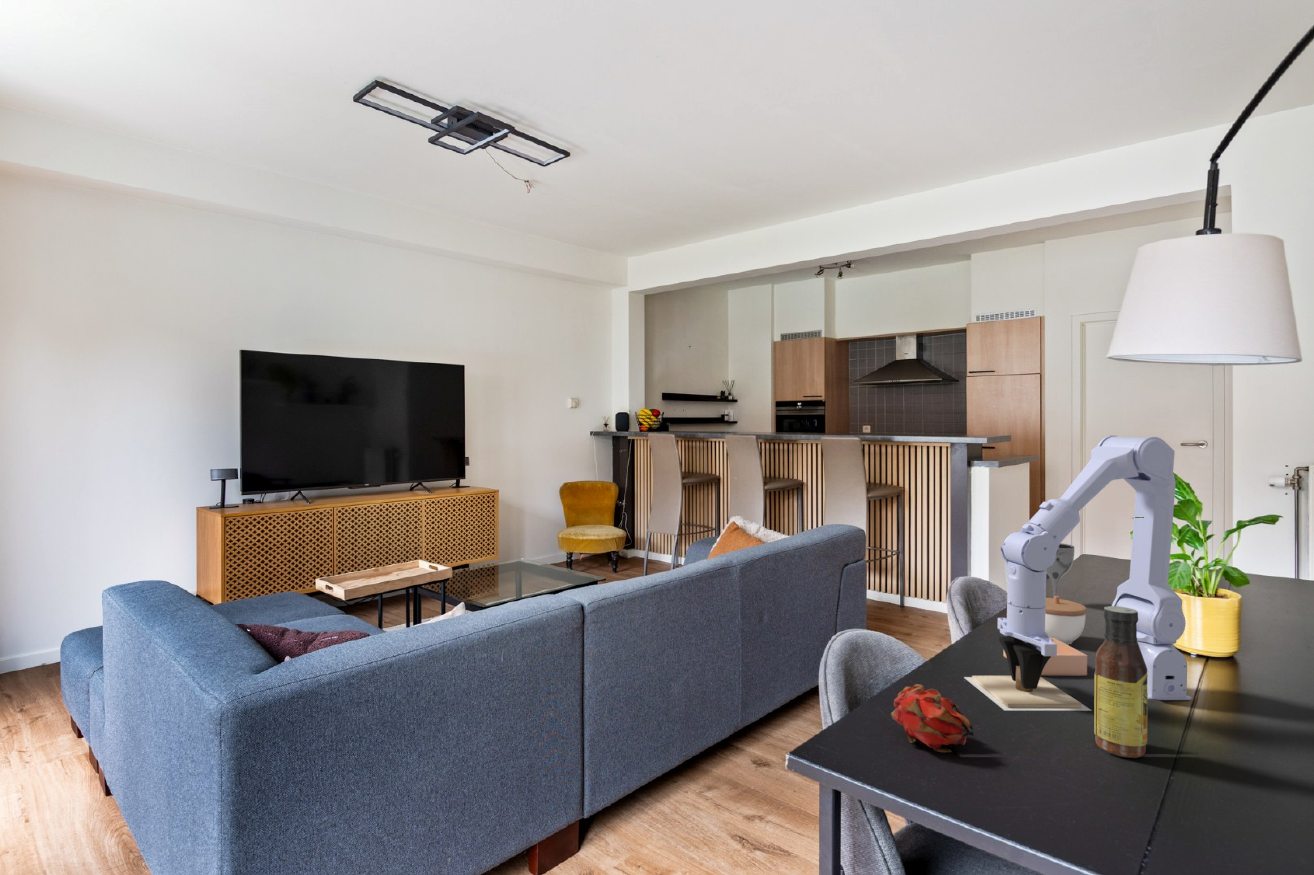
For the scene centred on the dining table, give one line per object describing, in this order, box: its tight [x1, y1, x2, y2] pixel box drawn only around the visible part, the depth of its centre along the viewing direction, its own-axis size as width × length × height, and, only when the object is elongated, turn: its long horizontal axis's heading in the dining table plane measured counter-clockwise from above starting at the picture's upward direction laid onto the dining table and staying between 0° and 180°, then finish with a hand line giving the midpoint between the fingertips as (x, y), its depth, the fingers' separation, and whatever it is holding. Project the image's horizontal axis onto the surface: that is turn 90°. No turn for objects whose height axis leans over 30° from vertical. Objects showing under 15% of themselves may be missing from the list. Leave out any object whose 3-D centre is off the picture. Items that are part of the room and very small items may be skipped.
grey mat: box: [963, 676, 1092, 712], centre depth 116 cm, size 14×14×1 cm
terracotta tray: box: [1002, 638, 1088, 677], centre depth 130 cm, size 10×10×4 cm
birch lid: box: [971, 665, 1082, 707], centre depth 116 cm, size 12×12×4 cm
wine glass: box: [1046, 542, 1075, 598], centre depth 175 cm, size 8×8×15 cm
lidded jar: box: [1045, 595, 1087, 646], centre depth 146 cm, size 11×11×9 cm
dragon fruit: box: [889, 683, 977, 754], centre depth 99 cm, size 8×8×12 cm
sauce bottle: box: [1093, 605, 1149, 759], centre depth 97 cm, size 7×6×20 cm
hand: (1024, 684), depth 116 cm, fingers closed on birch lid, 3 cm apart
